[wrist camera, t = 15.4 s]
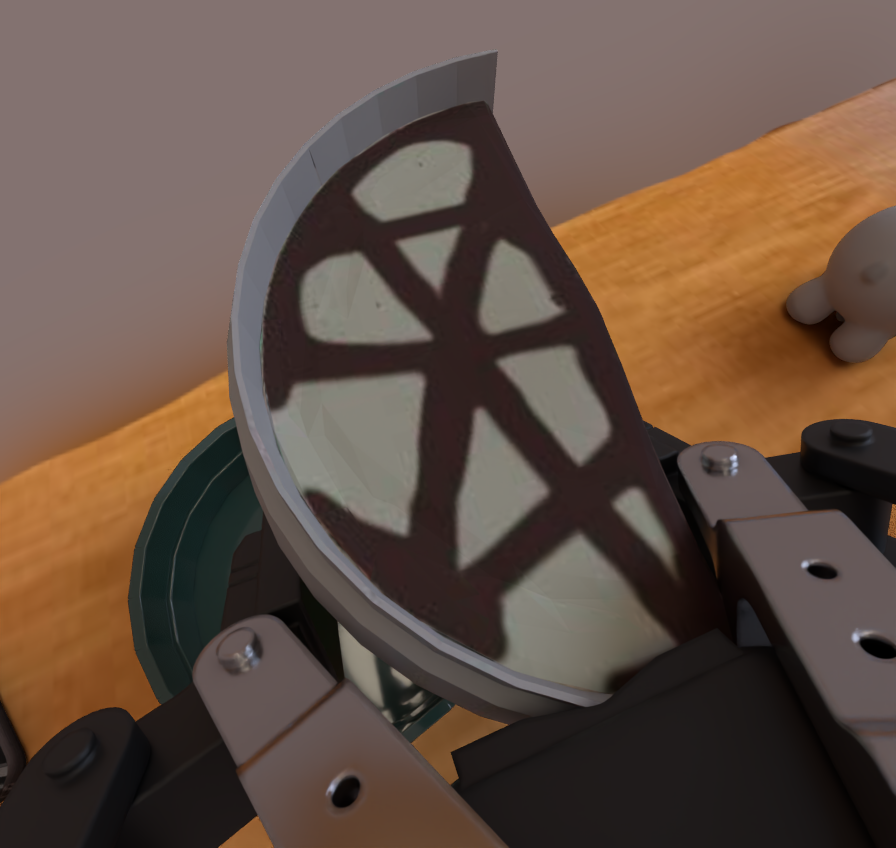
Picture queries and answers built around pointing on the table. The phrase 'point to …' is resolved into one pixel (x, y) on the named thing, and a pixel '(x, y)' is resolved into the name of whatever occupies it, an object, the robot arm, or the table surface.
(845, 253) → the round bodied animal figurine
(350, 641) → the bowl
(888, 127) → the table surface
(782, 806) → the robot arm
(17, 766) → the phone
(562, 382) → the food container
